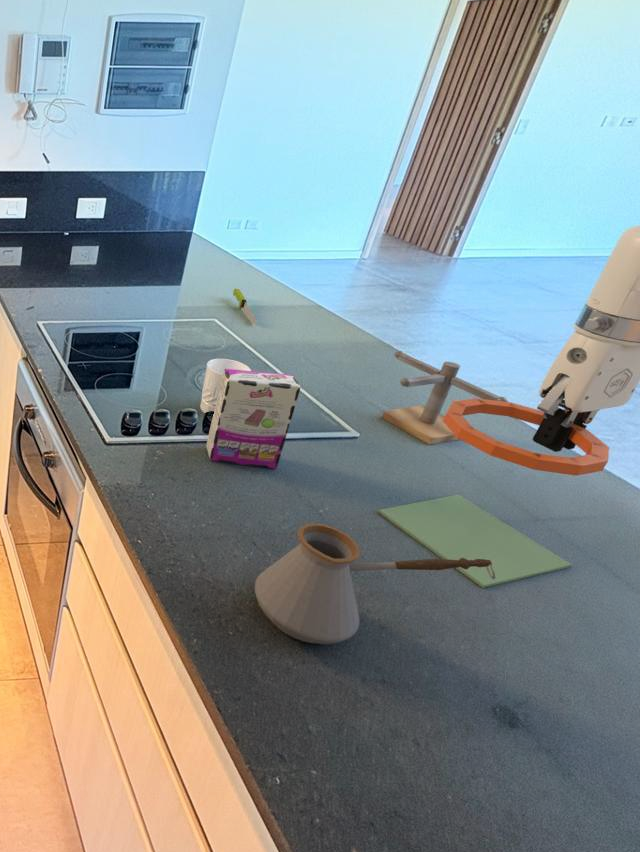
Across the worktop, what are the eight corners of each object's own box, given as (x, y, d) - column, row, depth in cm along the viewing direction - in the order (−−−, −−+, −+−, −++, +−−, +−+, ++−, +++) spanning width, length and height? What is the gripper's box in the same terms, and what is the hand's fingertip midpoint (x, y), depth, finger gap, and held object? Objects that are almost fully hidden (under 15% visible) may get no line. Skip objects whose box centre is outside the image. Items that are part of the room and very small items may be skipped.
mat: (457, 496, 100) (458, 494, 100) (570, 567, 86) (572, 564, 86) (377, 512, 97) (378, 509, 97) (482, 588, 83) (484, 585, 83)
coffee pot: (253, 639, 76) (285, 547, 69) (245, 574, 85) (273, 487, 79) (464, 698, 69) (523, 601, 62) (430, 620, 78) (478, 529, 72)
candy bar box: (269, 454, 111) (294, 373, 104) (277, 470, 107) (303, 387, 100) (203, 445, 114) (223, 366, 106) (208, 461, 109) (229, 379, 102)
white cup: (226, 400, 128) (237, 357, 124) (247, 420, 121) (259, 375, 117) (190, 402, 128) (199, 359, 124) (208, 422, 121) (219, 377, 117)
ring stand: (396, 398, 129) (420, 339, 123) (501, 453, 111) (535, 387, 105) (336, 407, 126) (357, 347, 120) (434, 465, 108) (465, 398, 102)
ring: (501, 402, 93) (506, 393, 92) (635, 464, 79) (642, 454, 78) (416, 415, 89) (420, 406, 88) (540, 482, 75) (546, 472, 74)
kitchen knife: (257, 331, 164) (260, 321, 162) (252, 331, 164) (255, 321, 163) (236, 296, 183) (238, 287, 181) (231, 296, 183) (234, 287, 181)
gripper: (610, 342, 73) (539, 468, 81) (701, 330, 77) (625, 452, 85) (539, 319, 80) (481, 438, 88) (627, 308, 83) (562, 424, 91)
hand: (552, 444), depth 86 cm, fingers closed on ring, 1 cm apart
